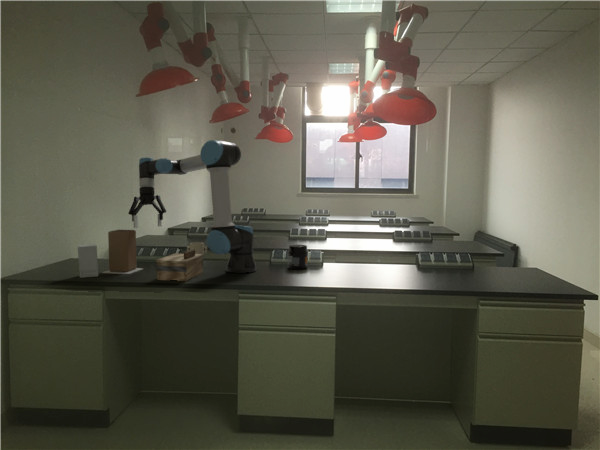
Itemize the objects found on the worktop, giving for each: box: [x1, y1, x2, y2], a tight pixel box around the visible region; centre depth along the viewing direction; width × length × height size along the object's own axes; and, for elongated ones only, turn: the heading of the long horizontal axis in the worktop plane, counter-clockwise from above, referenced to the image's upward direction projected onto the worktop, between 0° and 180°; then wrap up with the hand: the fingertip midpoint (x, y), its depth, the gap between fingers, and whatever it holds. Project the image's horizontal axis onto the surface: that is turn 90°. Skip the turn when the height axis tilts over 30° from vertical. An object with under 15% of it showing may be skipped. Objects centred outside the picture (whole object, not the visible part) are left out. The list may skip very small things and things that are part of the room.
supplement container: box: [287, 244, 309, 271], centre depth 242 cm, size 10×10×12 cm
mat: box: [102, 267, 144, 275], centre depth 229 cm, size 14×14×1 cm
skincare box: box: [77, 243, 99, 279], centre depth 215 cm, size 8×6×15 cm
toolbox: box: [156, 257, 204, 282], centre depth 218 cm, size 14×21×8 cm
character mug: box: [186, 241, 208, 255], centre depth 240 cm, size 11×7×13 cm, turn 85°
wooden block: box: [107, 229, 138, 272], centre depth 228 cm, size 10×10×20 cm
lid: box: [155, 249, 204, 264], centre depth 217 cm, size 15×21×4 cm
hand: (147, 227), depth 241 cm, fingers open, 13 cm apart
